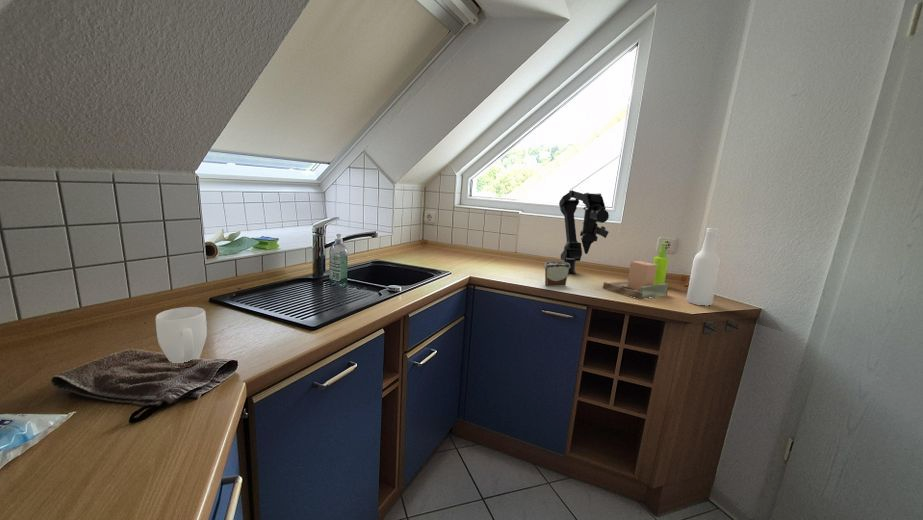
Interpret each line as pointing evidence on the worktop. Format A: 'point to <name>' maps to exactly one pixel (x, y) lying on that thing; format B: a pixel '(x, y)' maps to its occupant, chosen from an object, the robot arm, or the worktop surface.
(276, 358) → the worktop surface
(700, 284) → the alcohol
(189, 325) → the mug
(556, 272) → the food container
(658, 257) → the soap dispenser
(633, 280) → the block
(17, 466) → the worktop surface
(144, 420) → the worktop surface
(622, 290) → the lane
